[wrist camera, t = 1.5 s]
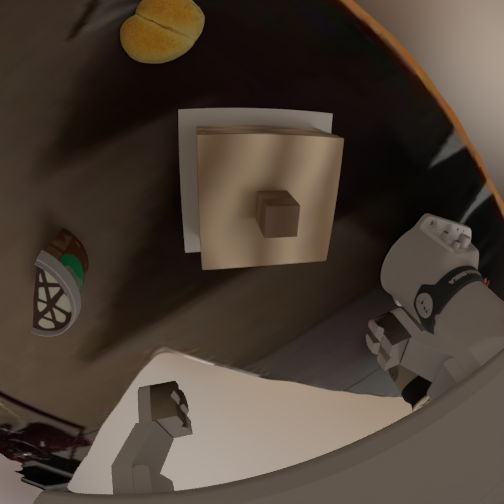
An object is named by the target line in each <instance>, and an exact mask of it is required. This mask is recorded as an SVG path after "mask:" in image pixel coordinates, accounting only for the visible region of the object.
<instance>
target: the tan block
mask: <svg viewBox="0 0 504 504" xmlns="http://www.w3.org/2000/svg"><path fill="white" fill-rule="evenodd" d="M196 135H197V184H198V211H199V232H200V247H201V260H202V270H210V269H224V268H238V267H252V266H265V265H278V264H291V263H304V262H316V261H326V259H327V253H328V247H329V242H330V236H331V230H332V224H333V218H334V211H335V205H336V198H337V191H338V184H339V176H340V169H341V161H342V152H343V143H344V138H341V137H338V136H336V135H333V134H331V133H328V132H326V131H323V130H320V129H317V128H308V127H292V126H267V125H213V126H196Z"/></svg>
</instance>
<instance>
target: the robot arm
mask: <svg viewBox="0 0 504 504" xmlns="http://www.w3.org/2000/svg"><path fill="white" fill-rule="evenodd" d="M470 242H471V229H470V228H469V227H468V226H466V225H463V224H460V223H457V222H454V221H451V220H448V219H445V218H442V217H438V216H435V215H432V214H429V213H426V214H424V215H423V216H422V217H421V218H420V219H419V221H418V222H417V223H416V225H415V226H414V227H413V228H412V229H411V230H409V231H408V232H406V233H405V234H404V235H402V236H401V237H400V238H399V239H398V240H397V241H396V242H395V244H394V245H393V246H392V247H391V249H390V250H389V252H388V254H387V256H386V258H385V260H384V262H383V265H382V269H381V284H382V286H383V288H384V289H385V291H387V292H388V293H389V294H391V295H392V296H393V300H394V302H395V303H396V304H397V305H398V306H403V307H404V308H405V309H406V310H407V311H408V312H409V313H410V314H411V315H412V316H413V317H414V318H415V319H416V320H417V321H418V322H419V323H421V324H422V325H423V327H424V328H425V329H426V331H427V332H426V331H422V332H421V331H420V330H419V328H418V327H417V326H416V325H415V324H414V322H413V321H412V320H411V319H410V318H409V317H408V315H407V314H406V313H405V312H404V311H403V310H402V309H401V308H397V309H395V310H393V311H391V312H387V313H385V314H383V315H381V316H378V317H376V318H374V319H371V320H370V321H369V323H368V327H369V328H370V329H369V331H368V332H367V334H366V341H367V345H368V347H369V349H370V351H371V352H372V353H374V354H376V355H377V361H378V363H379V364H380V366H381V367H382V369H383V370H384V371H385V370H387V369H389V368H391V367H394V366H396V365H398V364H400V365H402V366H403V367H405V368H407V369H409V370H411V371H412V372H414V373H416V374H418V375H420V376H421V377H423V378H425V379H427V380H429V381H430V382H432V384H431V385H430V387H429V389H428V391H427V394H428V396H429V397H430V399H431V400H432V401H431V402H429V403H428V404H426V405H424V406H423V407H421V408H419V409H418V410H416V411H414V412H413V413H411V414H409V415H408V416H405V417H404V418H402V419H400V420H398V421H397V422H394V423H393V424H391V425H389V426H387V427H385V428H383V429H381V430H379V431H377V432H375V433H373V434H371V435H369V436H367V437H365V438H363V439H360V440H358V441H356V442H353V443H351V444H349V445H346V446H344V447H342V448H339V449H337V450H334V451H332V452H329V453H327V454H324V455H322V456H319V457H316V458H314V459H311V460H308V461H305V462H302V463H299V464H296V465H293V466H290V467H287V468H283V469H280V470H277V471H273V472H270V473H266V474H263V475H259V476H255V477H251V478H247V479H243V480H238V481H233V482H229V483H224V484H219V485H213V486H208V487H202V488H195V489H188V490H180V491H174V487H173V482H172V481H171V480H170V479H168V478H166V477H165V476H163V475H161V474H160V472H161V469H162V467H163V464H164V462H165V459H166V457H167V454H168V452H169V449H170V447H171V444H172V442H173V438H176V437H181V436H186V435H191V434H193V433H192V428H191V421H190V419H189V418H188V417H187V413H188V411H189V409H188V404H187V401H186V398H185V395H184V393H183V392H182V391H181V390H179V388H178V384H177V383H176V381H171V382H166V383H161V384H155V385H149V386H144V387H139V390H138V410H139V423H136V424H135V426H134V428H133V429H132V431H131V433H130V435H129V436H128V438H127V440H126V441H125V443H124V445H123V447H122V449H121V450H120V452H119V454H118V455H117V457H116V459H115V461H114V462H113V464H112V483H113V495H107V494H81V493H68V492H58V491H43V492H41V493H40V494H39V496H38V497H37V498H36V500H35V501H34V503H33V504H504V302H503V301H502V300H501V299H500V298H499V297H497V296H496V295H495V294H494V293H493V292H492V291H491V290H490V289H489V288H488V287H487V286H488V284H489V282H490V281H488V283H487V285H486V286H485V284H486V279H487V278H485V279H484V280H483V279H482V277H481V275H480V273H479V272H478V271H477V269H478V262H479V252H478V250H477V248H476V247H475V246H474V245H472V244H471V243H470Z"/></svg>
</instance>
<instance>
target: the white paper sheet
mask: <svg viewBox="0 0 504 504" xmlns="http://www.w3.org/2000/svg"><path fill="white" fill-rule="evenodd" d="M332 116H333V114H332V113H323V112H313V111H301V110H287V109H267V108H196V109H178V131H179V164H180V185H181V203H182V218H183V231H184V244H185V253H188V252H201V247H200V232H199V211H198V184H197V135H196V126H213V125H267V126H292V127H308V128H317V129H320V130H323V131H326V132H328V133H331V127H332Z"/></svg>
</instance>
